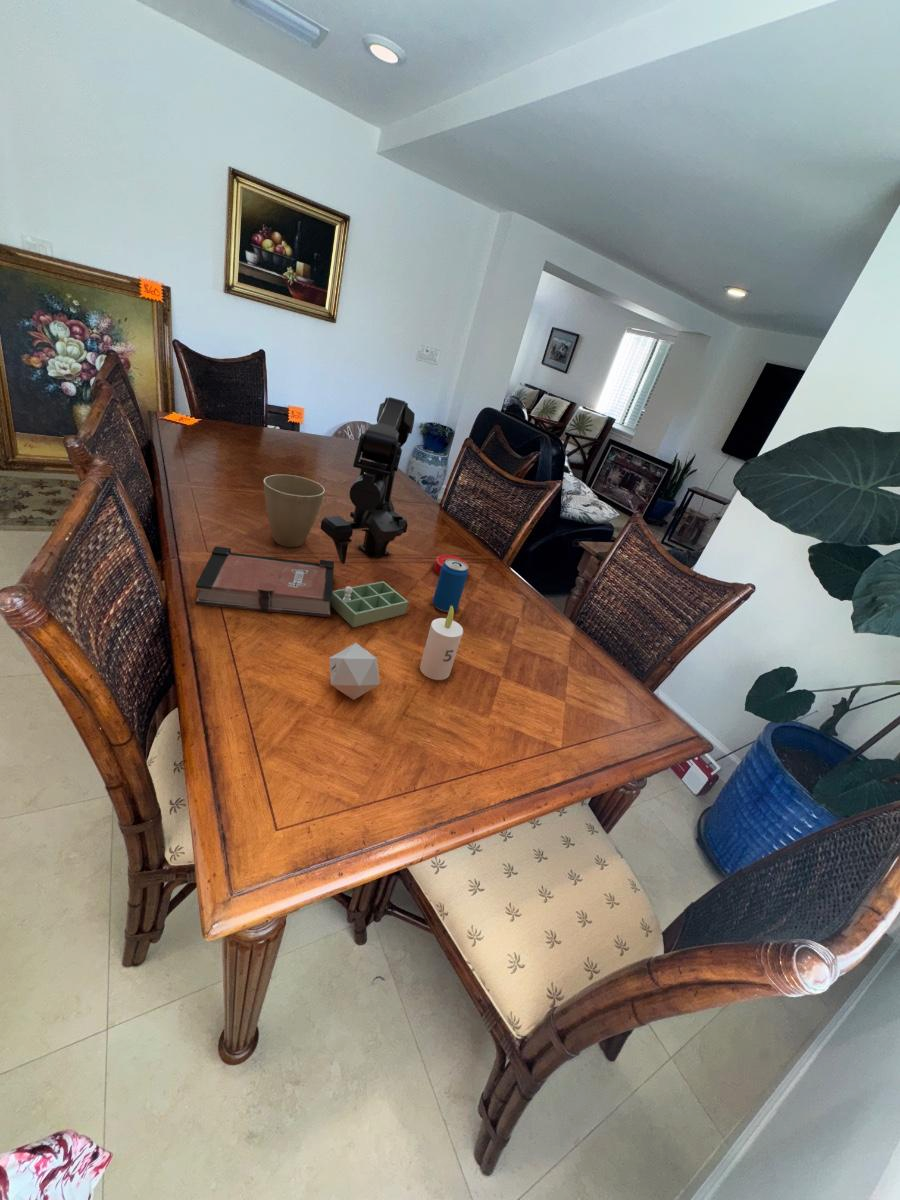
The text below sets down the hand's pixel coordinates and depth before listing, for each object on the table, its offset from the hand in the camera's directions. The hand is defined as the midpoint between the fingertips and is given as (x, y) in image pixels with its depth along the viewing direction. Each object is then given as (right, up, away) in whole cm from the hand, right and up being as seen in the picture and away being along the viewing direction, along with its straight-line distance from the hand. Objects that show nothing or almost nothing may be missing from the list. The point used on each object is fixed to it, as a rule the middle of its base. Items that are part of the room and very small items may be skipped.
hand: (360, 560), depth 107 cm
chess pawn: (-4, -10, +2) cm, 11 cm away
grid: (+1, -11, +4) cm, 12 cm away
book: (-20, -7, 0) cm, 21 cm away
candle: (+17, -23, -9) cm, 30 cm away
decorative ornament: (+20, -1, +32) cm, 37 cm away
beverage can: (+18, -11, +14) cm, 25 cm away
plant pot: (-23, +7, +23) cm, 34 cm away
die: (+2, -25, -20) cm, 32 cm away
